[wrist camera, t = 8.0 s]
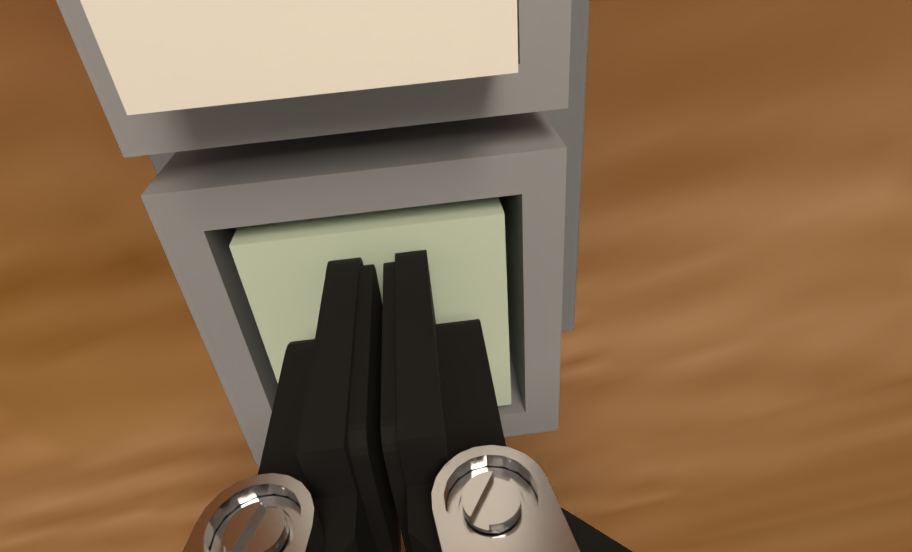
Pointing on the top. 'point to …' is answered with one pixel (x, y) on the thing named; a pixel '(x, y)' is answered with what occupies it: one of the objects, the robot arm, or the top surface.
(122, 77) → the cream button
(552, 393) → the button board
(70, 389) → the top surface
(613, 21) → the top surface
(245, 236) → the sage button
